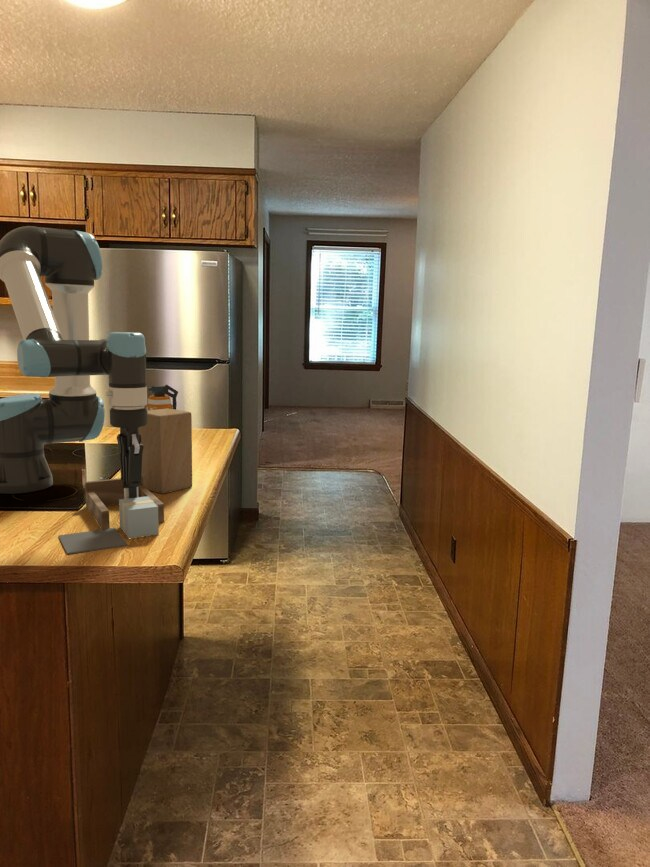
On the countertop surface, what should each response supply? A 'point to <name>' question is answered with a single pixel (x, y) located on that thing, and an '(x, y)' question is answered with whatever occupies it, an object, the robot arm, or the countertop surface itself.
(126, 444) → the robot arm
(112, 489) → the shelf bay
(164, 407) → the orange rounded handled piece
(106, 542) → the mat
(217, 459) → the countertop surface
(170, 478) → the wooden block
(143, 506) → the block
